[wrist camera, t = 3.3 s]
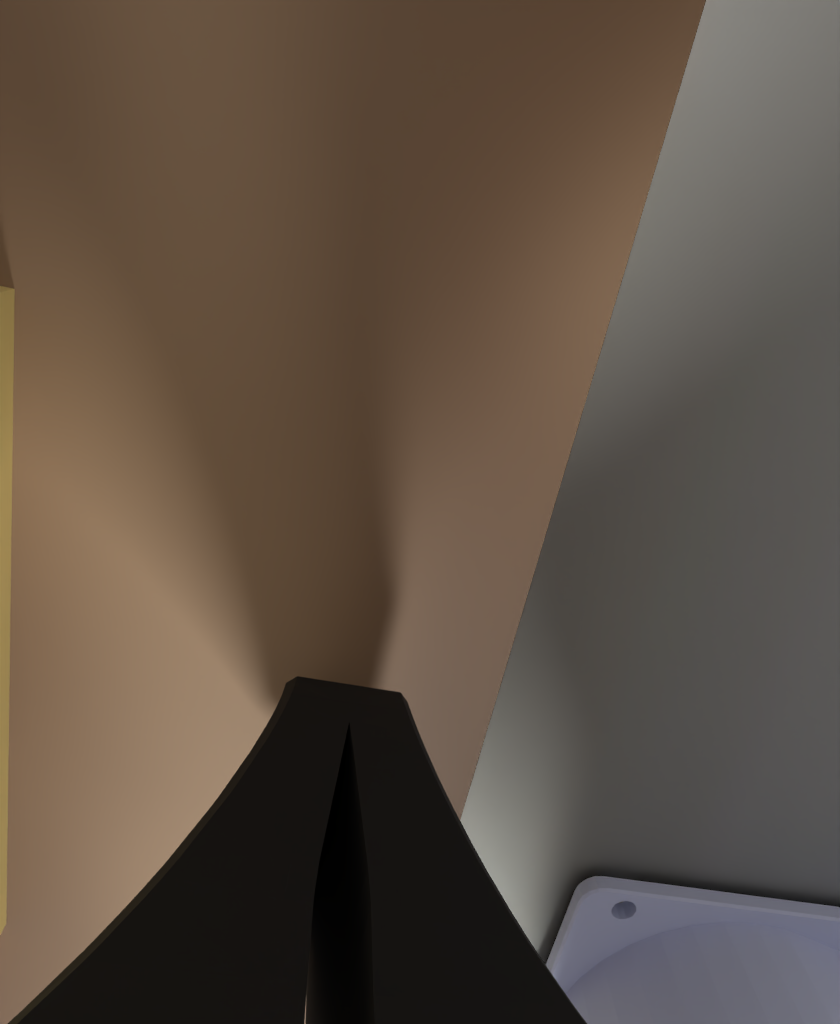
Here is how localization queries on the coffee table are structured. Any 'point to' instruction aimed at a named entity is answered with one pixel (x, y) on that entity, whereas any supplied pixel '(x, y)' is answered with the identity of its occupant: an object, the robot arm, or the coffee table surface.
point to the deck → (287, 382)
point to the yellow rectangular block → (5, 565)
